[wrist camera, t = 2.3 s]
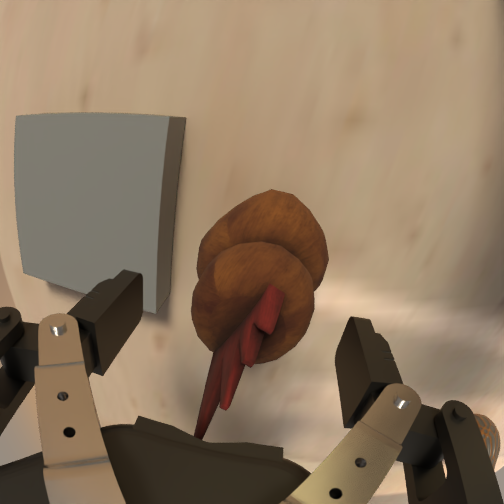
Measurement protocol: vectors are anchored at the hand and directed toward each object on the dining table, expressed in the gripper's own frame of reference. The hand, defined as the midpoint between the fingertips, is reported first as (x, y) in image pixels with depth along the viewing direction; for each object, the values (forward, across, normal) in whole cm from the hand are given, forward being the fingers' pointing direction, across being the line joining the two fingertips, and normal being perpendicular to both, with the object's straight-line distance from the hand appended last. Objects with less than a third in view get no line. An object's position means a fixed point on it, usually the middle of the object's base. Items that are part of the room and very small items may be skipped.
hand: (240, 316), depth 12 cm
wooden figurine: (+10, 0, 0) cm, 11 cm away
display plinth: (+10, +13, 0) cm, 16 cm away
